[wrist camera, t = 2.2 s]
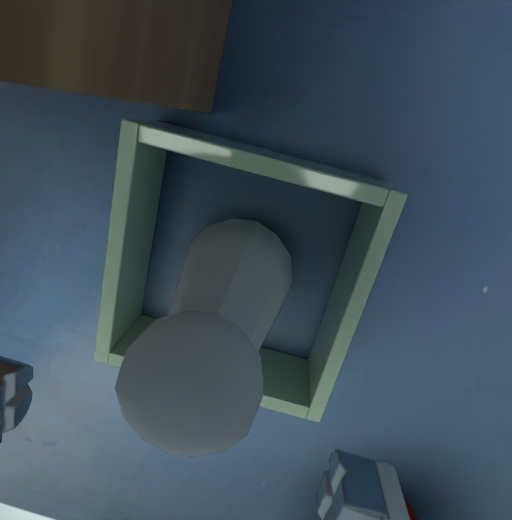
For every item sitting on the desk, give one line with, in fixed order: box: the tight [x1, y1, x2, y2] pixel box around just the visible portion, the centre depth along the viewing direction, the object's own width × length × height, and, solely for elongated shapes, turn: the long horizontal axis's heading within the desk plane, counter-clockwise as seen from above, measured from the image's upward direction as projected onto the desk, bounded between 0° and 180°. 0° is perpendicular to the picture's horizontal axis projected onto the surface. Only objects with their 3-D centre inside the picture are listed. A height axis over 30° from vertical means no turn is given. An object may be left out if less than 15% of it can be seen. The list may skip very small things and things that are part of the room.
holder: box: [94, 119, 408, 423], centre depth 20 cm, size 13×13×4 cm
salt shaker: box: [115, 218, 293, 457], centre depth 16 cm, size 6×6×13 cm
